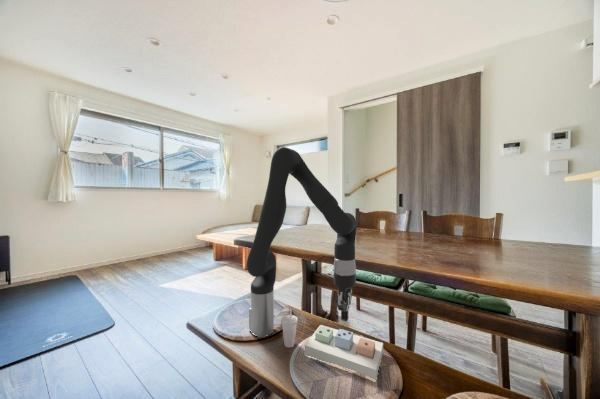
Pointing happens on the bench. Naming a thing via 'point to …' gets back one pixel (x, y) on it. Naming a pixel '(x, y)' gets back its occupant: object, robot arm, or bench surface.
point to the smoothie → (289, 329)
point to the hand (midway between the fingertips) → (344, 319)
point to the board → (345, 354)
